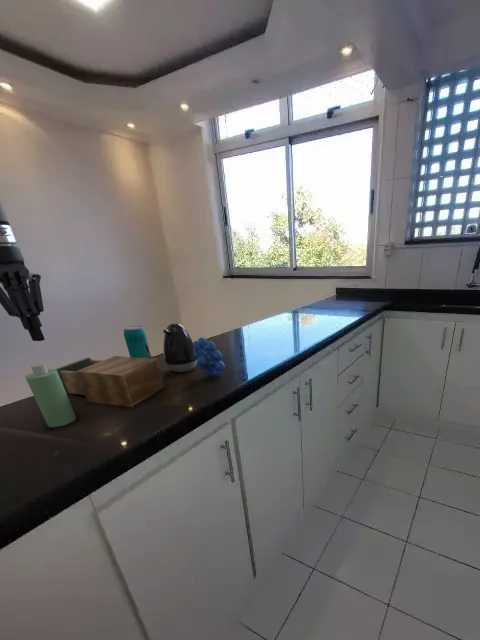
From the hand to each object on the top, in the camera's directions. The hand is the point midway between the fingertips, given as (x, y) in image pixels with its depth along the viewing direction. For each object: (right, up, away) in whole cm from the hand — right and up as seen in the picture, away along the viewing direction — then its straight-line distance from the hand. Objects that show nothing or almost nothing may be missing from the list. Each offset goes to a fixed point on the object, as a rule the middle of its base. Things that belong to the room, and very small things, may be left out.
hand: (38, 340), depth 86 cm
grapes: (+45, -10, +9) cm, 47 cm away
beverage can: (+23, -9, +13) cm, 28 cm away
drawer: (+13, -13, +2) cm, 18 cm away
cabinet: (+25, -15, -1) cm, 29 cm away
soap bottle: (+17, -22, -13) cm, 31 cm away
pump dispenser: (+35, -7, +15) cm, 39 cm away
